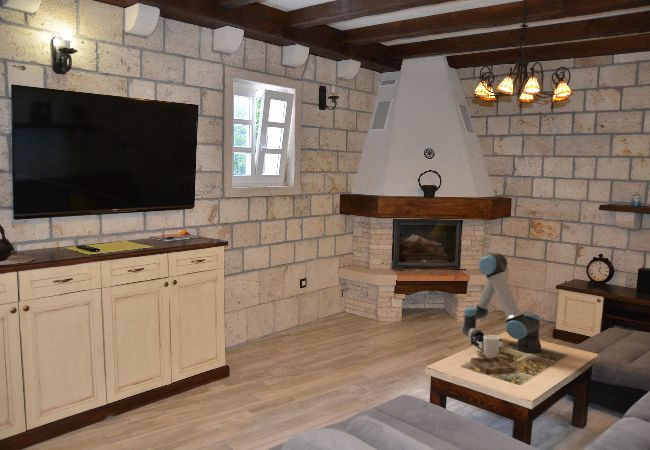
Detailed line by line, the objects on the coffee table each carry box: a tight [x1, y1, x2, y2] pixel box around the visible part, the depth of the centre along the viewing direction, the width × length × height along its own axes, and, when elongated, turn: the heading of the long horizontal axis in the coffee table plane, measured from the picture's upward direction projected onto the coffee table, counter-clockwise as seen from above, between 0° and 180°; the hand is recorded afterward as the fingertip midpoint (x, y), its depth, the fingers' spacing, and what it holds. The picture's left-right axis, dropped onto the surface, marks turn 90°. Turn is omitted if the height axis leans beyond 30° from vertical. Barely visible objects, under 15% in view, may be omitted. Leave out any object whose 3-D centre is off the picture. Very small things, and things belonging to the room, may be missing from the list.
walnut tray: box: [470, 355, 516, 375], centre depth 302 cm, size 18×18×3 cm
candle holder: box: [483, 334, 501, 357], centre depth 320 cm, size 10×10×12 cm
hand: (492, 346), depth 318 cm, fingers open, 13 cm apart
